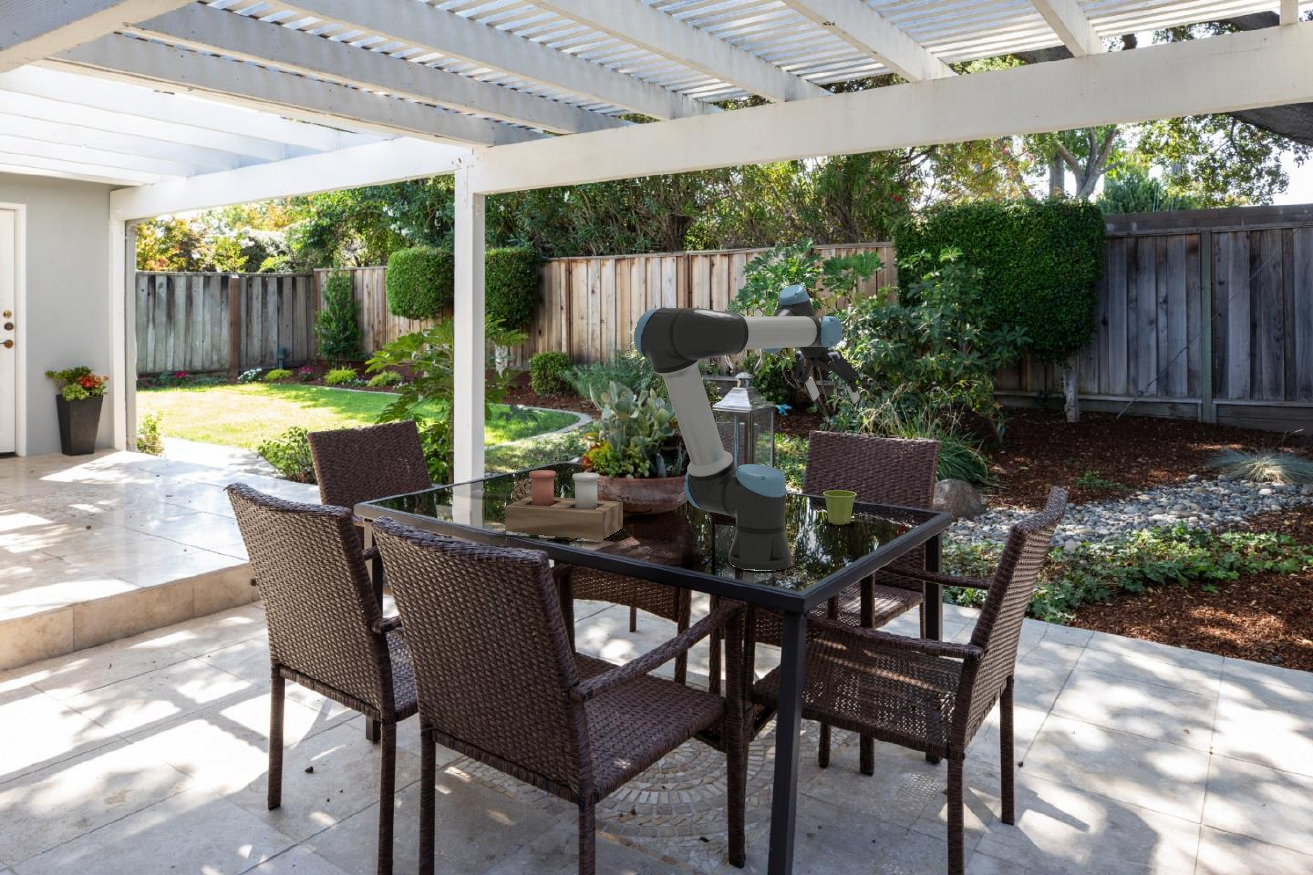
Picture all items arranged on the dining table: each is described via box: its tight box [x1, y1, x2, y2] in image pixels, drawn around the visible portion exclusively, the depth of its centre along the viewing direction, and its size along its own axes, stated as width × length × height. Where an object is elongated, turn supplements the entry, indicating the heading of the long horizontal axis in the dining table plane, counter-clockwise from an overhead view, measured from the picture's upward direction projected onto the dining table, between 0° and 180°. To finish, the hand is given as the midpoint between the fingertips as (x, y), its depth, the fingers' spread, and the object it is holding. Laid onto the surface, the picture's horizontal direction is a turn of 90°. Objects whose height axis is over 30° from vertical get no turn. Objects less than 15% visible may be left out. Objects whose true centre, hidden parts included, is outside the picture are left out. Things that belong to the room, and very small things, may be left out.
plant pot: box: [822, 489, 857, 526], centre depth 265 cm, size 9×9×9 cm
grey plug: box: [572, 472, 600, 509], centre depth 251 cm, size 7×7×11 cm
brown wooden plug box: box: [504, 496, 624, 540], centre depth 253 cm, size 16×28×8 cm, turn 71°
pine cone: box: [511, 477, 532, 503], centre depth 278 cm, size 22×10×10 cm, turn 8°
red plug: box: [528, 469, 557, 506], centre depth 255 cm, size 7×7×11 cm
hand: (836, 398), depth 259 cm, fingers open, 13 cm apart
